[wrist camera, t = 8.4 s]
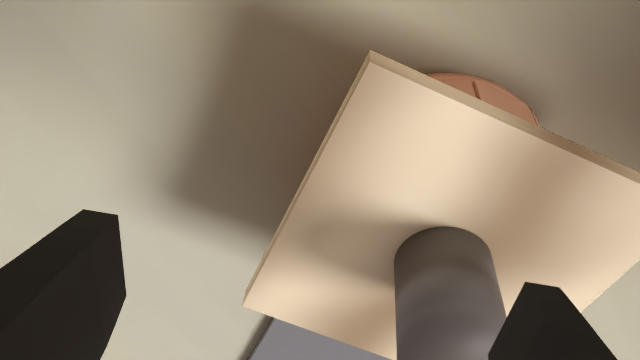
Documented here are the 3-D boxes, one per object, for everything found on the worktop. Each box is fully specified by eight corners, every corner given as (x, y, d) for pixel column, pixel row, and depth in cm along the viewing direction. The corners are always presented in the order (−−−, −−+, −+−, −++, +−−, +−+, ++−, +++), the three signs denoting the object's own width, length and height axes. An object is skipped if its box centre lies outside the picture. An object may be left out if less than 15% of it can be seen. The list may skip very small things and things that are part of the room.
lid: (246, 289, 20) (216, 399, 16) (370, 49, 14) (366, 136, 10) (486, 376, 21) (507, 493, 18) (682, 192, 16) (772, 309, 12)
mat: (238, 374, 29) (237, 381, 29) (321, 236, 23) (321, 243, 23) (419, 436, 31) (420, 443, 30) (542, 323, 25) (544, 330, 24)
